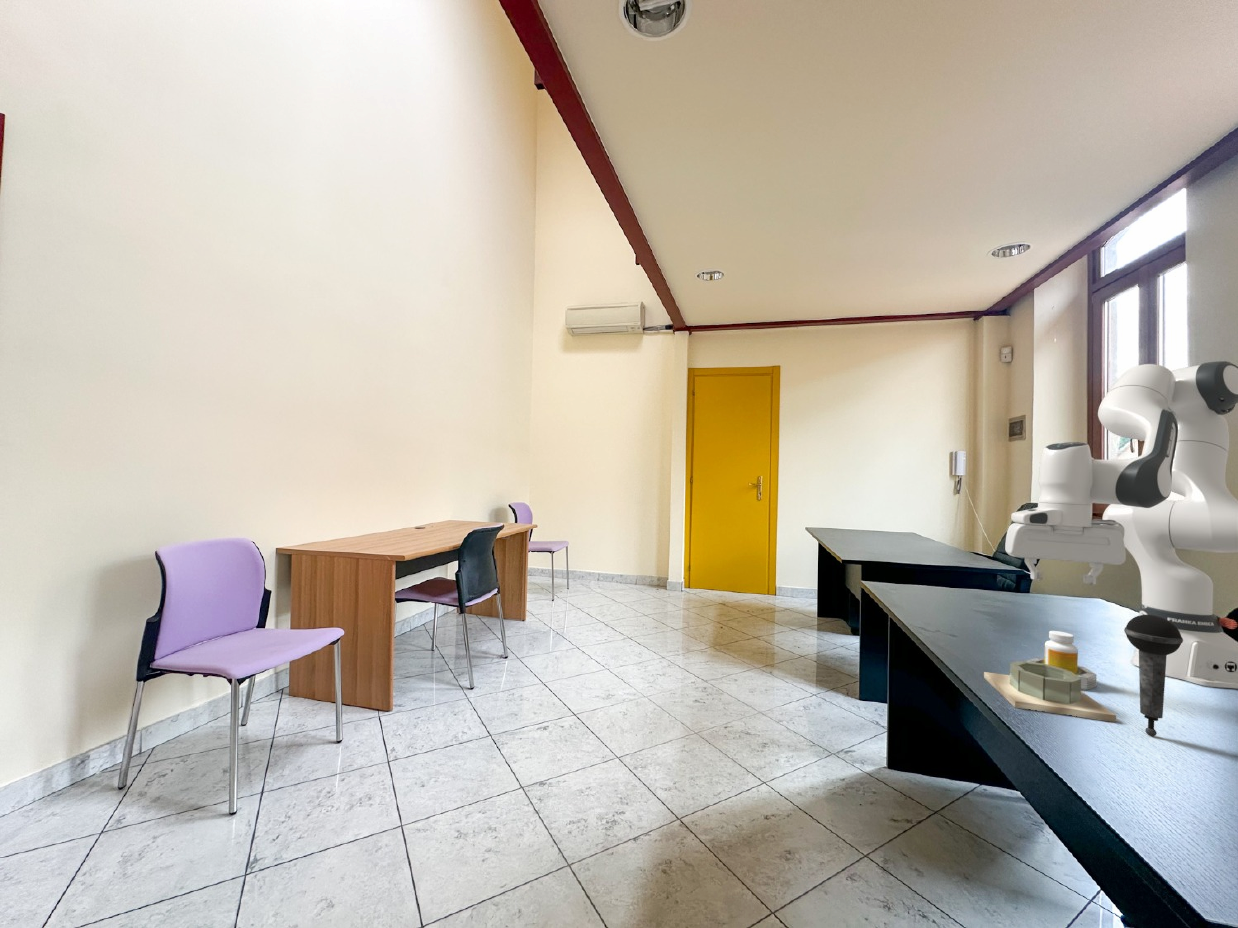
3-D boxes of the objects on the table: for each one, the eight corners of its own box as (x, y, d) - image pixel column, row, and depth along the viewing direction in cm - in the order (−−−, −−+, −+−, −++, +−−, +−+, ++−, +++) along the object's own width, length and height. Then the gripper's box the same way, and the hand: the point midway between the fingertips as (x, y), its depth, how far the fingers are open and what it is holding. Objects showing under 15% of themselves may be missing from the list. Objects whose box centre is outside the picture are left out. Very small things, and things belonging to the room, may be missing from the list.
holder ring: (1076, 673, 113) (1076, 662, 113) (1105, 692, 103) (1105, 679, 103) (1020, 666, 116) (1020, 655, 117) (1043, 684, 107) (1043, 672, 107)
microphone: (1188, 751, 81) (1191, 623, 81) (1128, 737, 85) (1131, 615, 85) (1172, 733, 87) (1174, 614, 87) (1116, 721, 90) (1119, 607, 91)
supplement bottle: (1083, 685, 107) (1084, 638, 107) (1053, 682, 108) (1054, 635, 108) (1066, 675, 112) (1067, 630, 112) (1038, 672, 113) (1039, 628, 113)
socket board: (1069, 688, 105) (1070, 663, 105) (1116, 722, 90) (1116, 692, 90) (984, 677, 109) (984, 652, 109) (1015, 707, 95) (1015, 679, 95)
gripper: (1114, 519, 111) (1113, 583, 110) (1003, 513, 117) (1001, 574, 116) (1134, 521, 104) (1132, 589, 104) (1015, 515, 111) (1013, 579, 110)
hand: (1062, 581), depth 110 cm, fingers open, 8 cm apart
